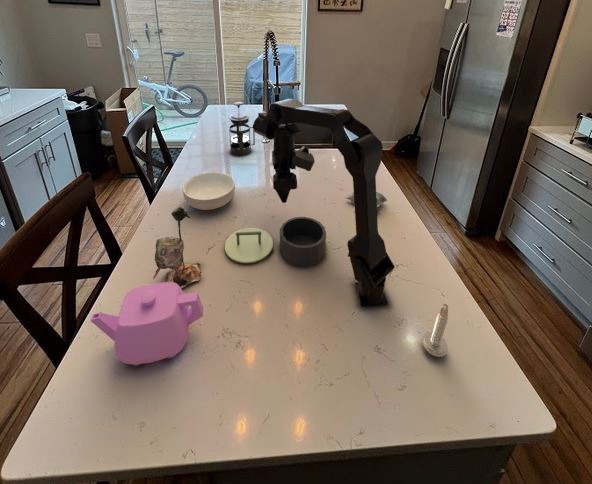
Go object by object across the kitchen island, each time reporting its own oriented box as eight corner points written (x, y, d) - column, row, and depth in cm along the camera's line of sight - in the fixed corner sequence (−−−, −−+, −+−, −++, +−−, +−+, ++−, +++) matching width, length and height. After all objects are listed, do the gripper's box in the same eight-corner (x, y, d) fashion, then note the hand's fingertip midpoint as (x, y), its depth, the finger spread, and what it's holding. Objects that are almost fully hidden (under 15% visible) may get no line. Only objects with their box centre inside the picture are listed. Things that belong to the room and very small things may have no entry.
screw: (426, 363, 65) (416, 339, 70) (450, 361, 65) (439, 338, 70) (439, 317, 60) (428, 294, 64) (465, 316, 60) (451, 293, 65)
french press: (229, 157, 142) (226, 107, 133) (227, 148, 151) (224, 100, 142) (256, 154, 145) (255, 105, 136) (253, 145, 154) (251, 98, 145)
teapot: (205, 305, 76) (200, 263, 71) (205, 359, 65) (199, 314, 60) (110, 322, 71) (98, 279, 66) (92, 384, 60) (76, 338, 55)
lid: (273, 263, 88) (273, 248, 86) (222, 266, 87) (220, 251, 85) (272, 229, 100) (272, 215, 98) (227, 231, 99) (226, 217, 97)
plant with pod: (159, 267, 86) (148, 203, 78) (204, 263, 87) (197, 200, 79) (151, 293, 78) (137, 226, 71) (200, 289, 80) (191, 222, 72)
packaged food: (374, 217, 107) (376, 204, 105) (344, 202, 114) (345, 190, 112) (386, 205, 113) (388, 193, 111) (357, 192, 120) (358, 180, 118)
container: (328, 265, 88) (329, 246, 85) (280, 267, 87) (281, 248, 84) (320, 233, 99) (321, 216, 97) (279, 235, 98) (279, 217, 96)
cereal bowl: (197, 224, 101) (195, 205, 99) (177, 199, 113) (174, 182, 110) (244, 204, 112) (244, 186, 109) (221, 183, 123) (220, 167, 121)
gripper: (318, 160, 82) (315, 212, 88) (309, 130, 99) (307, 175, 105) (273, 161, 81) (273, 213, 87) (271, 131, 98) (272, 176, 104)
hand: (283, 193), depth 96 cm, fingers open, 9 cm apart
